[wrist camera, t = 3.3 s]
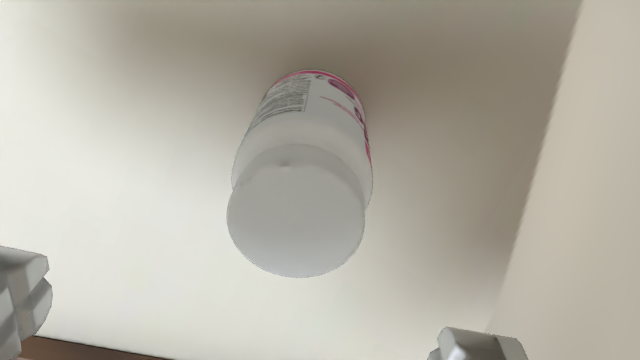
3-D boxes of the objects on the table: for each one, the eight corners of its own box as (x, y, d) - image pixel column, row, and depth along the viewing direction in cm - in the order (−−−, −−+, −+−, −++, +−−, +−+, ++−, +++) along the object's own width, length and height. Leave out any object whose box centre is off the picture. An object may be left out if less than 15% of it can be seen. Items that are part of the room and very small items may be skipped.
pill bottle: (384, 136, 20) (407, 253, 13) (297, 180, 21) (273, 310, 14) (331, 45, 18) (322, 120, 11) (239, 100, 19) (176, 201, 12)
